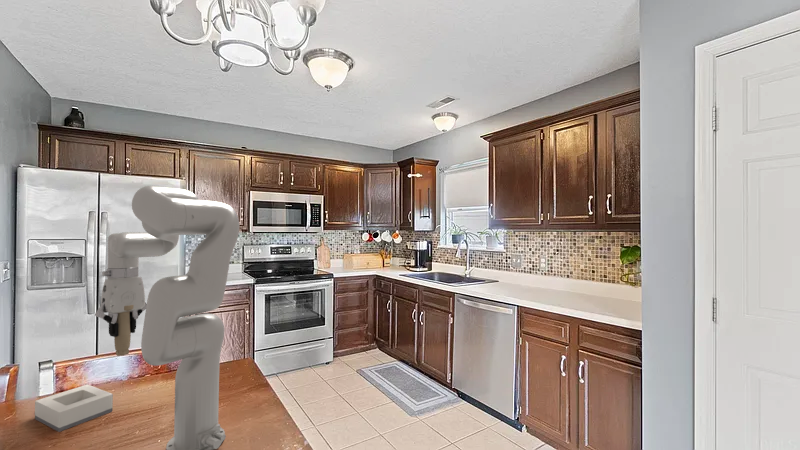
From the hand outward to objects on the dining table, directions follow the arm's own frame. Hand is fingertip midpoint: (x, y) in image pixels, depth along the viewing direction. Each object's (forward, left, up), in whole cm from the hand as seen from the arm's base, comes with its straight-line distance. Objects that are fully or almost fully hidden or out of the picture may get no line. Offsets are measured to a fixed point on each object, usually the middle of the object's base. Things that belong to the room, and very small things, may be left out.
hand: (122, 333), depth 110 cm
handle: (0, 0, -6) cm, 6 cm away
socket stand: (+3, +10, -21) cm, 23 cm away
